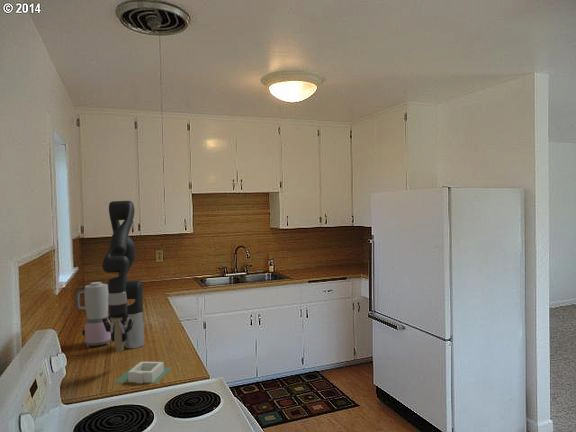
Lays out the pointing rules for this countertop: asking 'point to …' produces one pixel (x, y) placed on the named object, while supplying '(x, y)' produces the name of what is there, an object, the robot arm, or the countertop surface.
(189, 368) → the countertop surface
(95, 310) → the blender
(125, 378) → the board
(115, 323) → the handle
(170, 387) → the countertop surface
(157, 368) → the socket
